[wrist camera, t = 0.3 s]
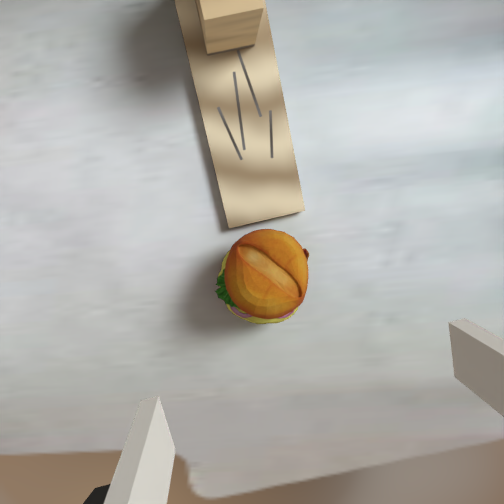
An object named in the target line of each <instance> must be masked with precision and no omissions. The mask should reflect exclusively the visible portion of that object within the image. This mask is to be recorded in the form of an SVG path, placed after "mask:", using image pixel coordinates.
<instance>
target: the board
mask: <svg viewBox="0 0 504 504" xmlns="http://www.w3.org/2000/svg"><path fill="white" fill-rule="evenodd" d="M174 1H175V5H176V9H177V13H178V18H179V22H180V26H181V30H182V34H183V38H184V43H185V47H186V51H187V55H188V59H189V64H190V68H191V72H192V76H193V80H194V84H195V89H196V93H197V97H198V101H199V105H200V110H201V114H202V118H203V122H204V126H205V130H206V135H207V139H208V143H209V147H210V151H211V156H212V160H213V164H214V168H215V172H216V176H217V181H218V185H219V189H220V193H221V197H222V202H223V206H224V210H225V214H226V218H227V223H228V227H229V228H233V227H237V226H241V225H246V224H250V223H254V222H258V221H263V220H267V219H271V218H276V217H280V216H284V215H288V214H293V213H297V212H301V211H305V207H304V202H303V197H302V191H301V186H300V181H299V176H298V171H297V165H296V160H295V155H294V150H293V145H292V139H291V134H290V129H289V124H288V119H287V113H286V108H285V103H284V98H283V93H282V87H281V82H280V77H279V72H278V67H277V61H276V56H275V51H274V46H273V41H272V35H271V30H270V25H269V20H268V15H267V9H266V4H265V0H262V1H263V6H264V9H263V13H262V17H261V21H260V25H259V29H258V33H257V37H256V41H255V46H253V47H248V48H244V49H239V50H234V51H229V52H225V53H220V54H215V55H210V56H207V52H206V47H205V43H204V38H203V34H202V30H201V25H200V21H199V16H198V12H197V8H196V3H195V0H174Z"/></svg>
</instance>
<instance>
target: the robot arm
mask: <svg viewBox="0 0 504 504" xmlns="http://www.w3.org/2000/svg"><path fill="white" fill-rule="evenodd" d="M449 331H450V340H451V349H452V358H453V367H454V376H455V378H457V379H458V380H459V381H460V382H462V383H463V384H464V385H465V386H466V387H468V388H469V389H470V390H471V391H473V392H474V393H475V394H476V395H477V396H479V397H480V398H481V399H482V400H484V401H485V402H486V403H487V404H489V405H490V406H491V407H492V408H493V409H495V410H496V411H497V412H498V413H500V414H501V415H502V416H503V417H504V339H502V338H500V337H498V336H497V335H495V334H493V333H491V332H489V331H487V330H486V329H484V328H482V327H480V326H478V325H476V324H475V323H473V322H471V321H469V320H467V319H465V318H464V319H460V320H456V321H452V322H449ZM174 456H175V447H174V444H173V440H172V437H171V434H170V431H169V428H168V424H167V421H166V418H165V415H164V412H163V408H162V405H161V402H160V399H159V396H156V397H152V398H148V399H144V400H141V402H140V404H139V407H138V410H137V413H136V415H135V418H134V421H133V424H132V427H131V429H130V432H129V435H128V438H127V440H126V443H125V446H124V449H123V451H122V454H121V457H120V460H119V463H118V465H117V468H116V471H115V474H114V476H113V479H112V482H111V484H109V485H106V486H101V487H98V488H95V489H94V490H93V492H92V493H91V494H90V495H89V497H88V498H87V499H86V500H85V502H84V503H83V504H167V497H168V492H169V486H170V480H171V473H172V468H173V461H174Z"/></svg>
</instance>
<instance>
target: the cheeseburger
mask: <svg viewBox="0 0 504 504" xmlns="http://www.w3.org/2000/svg"><path fill="white" fill-rule="evenodd" d="M308 257H309V253H308V251H307V250H306V249H302V247H301V245H300V244H299V243H298V242H297V241H296V240H295V238H294V237H292V236H290V235H288V234H286V233H285V232H281V231H276V230H272V229H261V230H256V231H253V232H251V233H248V234H246V235H244V236H243V237H242V238H240V239H239V240H238V241H237V242H235V243H234V244H233V246H232V248H231V250H230V251H228V253H227V254H226V256H225V257H224V260H223V262H222V269H221V271H220V273H219V275H218V278H217V284H216V285H218V286H219V287H220V288H219V289H217V290H216V291H215V292H216V293H217V295H218V298H220V299H222V300H224V301H225V303H226V305H227V307H228V309H229V310H230V311H231V312H232V313H233V314H234V315H236V316H238V317H239V318H241V319H244V320H247V321H249V322H252V323H256V324H266V323H278V322H282V321H284V320H286V319H288V318H290V317H291V316H292V315H293V314H294V313H295V312H296V311H297V309H298V306H299V305H300V304H301V303H302V302H303V300H304V297H305V293H306V290H307V284H308V265H307V260H308Z"/></svg>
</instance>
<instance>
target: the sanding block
mask: <svg viewBox="0 0 504 504" xmlns="http://www.w3.org/2000/svg"><path fill="white" fill-rule="evenodd" d="M195 3H196V8H197V12H198V16H199V21H200V25H201V30H202V34H203V38H204V43H205V47H206V52H207V56H210V55H215V54H220V53H225V52H229V51H234V50H239V49H244V48H248V47H253V46H255V41H256V37H257V33H258V29H259V25H260V21H261V17H262V13H263V9H264V6H263V1H262V0H195Z"/></svg>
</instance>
